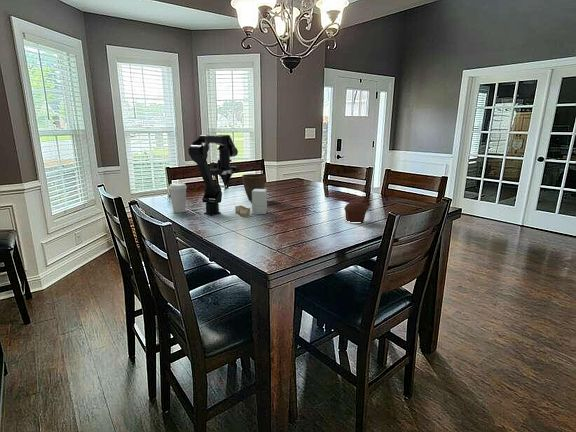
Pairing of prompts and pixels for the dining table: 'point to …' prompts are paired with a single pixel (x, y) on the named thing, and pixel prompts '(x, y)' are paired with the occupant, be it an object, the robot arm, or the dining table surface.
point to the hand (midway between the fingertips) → (225, 185)
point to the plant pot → (253, 183)
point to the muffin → (355, 211)
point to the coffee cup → (178, 197)
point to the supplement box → (259, 201)
